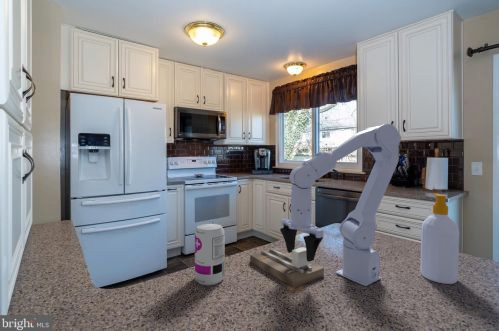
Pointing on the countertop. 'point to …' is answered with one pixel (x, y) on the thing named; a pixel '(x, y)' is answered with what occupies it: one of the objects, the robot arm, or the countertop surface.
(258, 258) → the tan slider track board
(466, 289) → the countertop surface
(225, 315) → the countertop surface
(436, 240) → the soap bottle
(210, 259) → the supplement can
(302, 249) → the block
